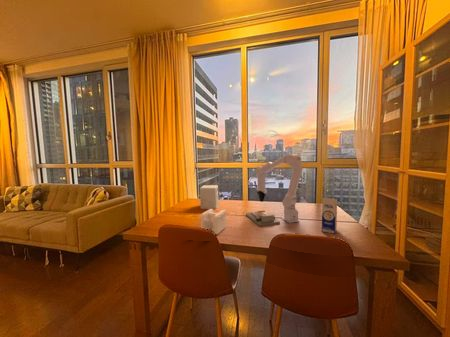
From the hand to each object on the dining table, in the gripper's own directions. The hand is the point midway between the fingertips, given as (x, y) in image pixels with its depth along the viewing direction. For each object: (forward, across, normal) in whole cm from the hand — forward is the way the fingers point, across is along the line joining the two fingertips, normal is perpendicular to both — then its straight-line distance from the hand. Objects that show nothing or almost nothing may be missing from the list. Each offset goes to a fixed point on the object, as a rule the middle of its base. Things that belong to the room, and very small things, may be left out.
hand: (261, 201), depth 156 cm
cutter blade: (+8, +14, -5) cm, 17 cm away
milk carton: (+10, +42, +23) cm, 49 cm away
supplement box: (+10, -32, -33) cm, 47 cm away
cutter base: (+9, +11, -5) cm, 15 cm away
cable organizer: (+10, +20, -40) cm, 46 cm away
